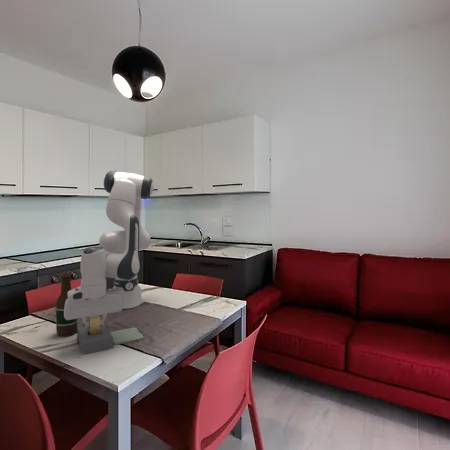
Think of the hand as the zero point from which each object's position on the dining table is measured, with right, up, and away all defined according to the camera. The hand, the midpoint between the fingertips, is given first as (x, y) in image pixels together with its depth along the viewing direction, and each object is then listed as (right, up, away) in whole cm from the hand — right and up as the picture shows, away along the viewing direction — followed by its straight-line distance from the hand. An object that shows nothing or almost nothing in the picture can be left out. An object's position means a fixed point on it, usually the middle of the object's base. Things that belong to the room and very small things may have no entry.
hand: (94, 326), depth 118 cm
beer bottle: (-15, -6, +9) cm, 18 cm away
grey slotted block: (0, -6, 0) cm, 6 cm away
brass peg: (0, -6, 0) cm, 6 cm away
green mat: (+10, -6, +6) cm, 13 cm away
